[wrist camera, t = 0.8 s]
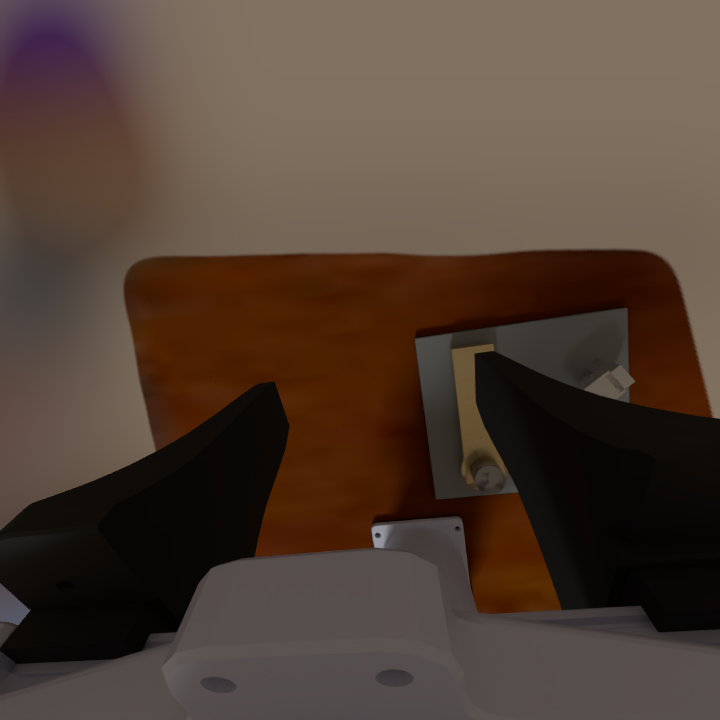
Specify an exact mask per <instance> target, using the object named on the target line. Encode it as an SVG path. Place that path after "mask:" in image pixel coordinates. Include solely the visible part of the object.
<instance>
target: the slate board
mask: <svg viewBox="0 0 720 720" xmlns="http://www.w3.org/2000/svg"><path fill="white" fill-rule="evenodd" d="M485 342H491V343H493V345H494V352H497V353H499V354H501V355H504V356H506V357H508V358H510V359H512V360H514V361H516V362H518V363H520V364H522V365H524V366H526V367H528V368H530V369H532V370H534V371H537V372H539V373H541V374H543V375H545V376H548V377H550V378H553V379H555V380H558V381H560V382H562V383H565V384H568V385H570V386H573V387H578V386H579V385H580V384H582V383H583V382H584V381H585V380H587V379H588V378H589V377H591V375H590V374H589V373H588V372H587V371H586V370H585V368H586V367H587V366H589V365H590V364H591V363H593V362H594V361H595V360H596V359H598V358H599V359H603V360H606V361H609V362H613V363H616V364H619V365H621V366H622V367H623V368H624V369H625V370H626V372H627V373H628V374H629V362H628V309H627V308H617V309H610V310H603V311H596V312H589V313H582V314H576V315H569V316H562V317H555V318H548V319H542V320H535V321H528V322H521V323H514V324H507V325H501V326H494V327H487V328H480V329H473V330H466V331H460V332H453V333H446V334H439V335H432V336H426V337H419V338H415V346H416V353H417V361H418V368H419V376H420V383H421V391H422V399H423V406H424V414H425V421H426V429H427V437H428V444H429V452H430V459H431V467H432V475H433V482H434V490H435V497H436V500H437V499H448V498H459V497H470V496H481V495H492V494H485V493H483V492H481V491H478V490H475V489H473V488H471V487H470V486H469V485H468V484H467V483H466V482H465V481H464V479H463V476H462V474H461V471H460V468H459V461H460V458H461V456H462V453H461V444H460V435H459V427H458V418H457V409H456V400H455V392H454V383H453V374H452V365H451V356H450V347H457V346H464V345H471V344H478V343H485ZM626 391H627V392H625V393H624V394H623V395H621V396H620V397H619V398H617V399H616V400H620V401H624V402H628V403H629V387H627V388H626ZM514 492H518V490H517V488H516V486H515V484H514V482H513V480H512V478H511V476H510V474H509V472H508V477H507V479H506V484H505V486H504V488H503V489H502V490H501V491H500V492H498V493H496V494H503V493H514Z"/></svg>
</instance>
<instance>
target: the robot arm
mask: <svg viewBox="0 0 720 720" xmlns="http://www.w3.org/2000/svg"><path fill="white" fill-rule="evenodd" d="M474 357H475V395H476V405H477V408H478V411H479V414H480V417H481V419H482V422H483V425H484V427H485V429H486V431H487V433H488V435H489V437H490V438H491V440H492V442H493V444H494V446H495V448H496V450H497V452H498V454H499V455H500V457H501V459H502V461H503V463H504V465H505V467H506V468H507V470H508V472H509V474H510V476H511V478H512V480H513V482H514V484H515V486H516V488H517V490H518V493H519V495H520V498H521V500H522V503H523V505H524V508H525V510H526V513H527V515H528V518H529V520H530V523H531V525H532V528H533V531H534V533H535V536H536V538H537V541H538V544H539V546H540V549H541V552H542V554H543V557H544V560H545V563H546V565H547V568H548V571H549V574H550V577H551V579H552V582H553V585H554V588H555V591H556V594H557V596H558V599H559V602H560V605H561V608H562V610H556V611H538V612H521V613H503V614H484V613H478V612H477V609H476V605H475V601H474V598H473V594H472V591H471V587H470V579H469V571H468V562H467V554H466V545H465V537H464V528H463V522H462V519H461V518H460V517H458V516H452V517H441V518H429V519H417V520H405V521H393V522H381V523H374V524H373V525H372V536H373V542H374V548H365V549H353V550H341V551H328V552H316V553H304V554H291V555H279V556H267V557H255V551H256V546H257V541H258V537H259V533H260V528H261V524H262V519H263V515H264V512H265V508H266V505H267V502H268V499H269V496H270V493H271V490H272V487H273V484H274V481H275V478H276V475H277V473H278V470H279V467H280V464H281V461H282V458H283V455H284V452H285V448H286V443H287V437H288V431H289V424H288V421H287V418H286V415H285V412H284V409H283V406H282V403H281V400H280V397H279V394H278V391H277V388H276V385H275V382H267V383H260V384H257V385H255V386H254V387H252V388H251V389H249V390H248V391H246V392H245V393H244V394H242V395H241V396H239V397H238V398H237V399H235V400H234V401H233V402H231V403H230V404H229V405H227V406H226V407H225V408H223V409H222V410H221V411H219V412H218V413H217V414H215V415H214V416H212V417H211V418H210V419H208V420H207V421H205V422H204V423H202V424H201V425H199V426H198V427H197V428H195V429H194V430H192V431H191V432H189V433H187V434H186V435H184V436H183V437H181V438H179V439H178V440H176V441H174V442H173V443H171V444H169V445H167V446H166V447H164V448H162V449H160V450H158V451H156V452H154V453H152V454H150V455H148V456H146V457H145V458H143V459H141V460H139V461H137V462H135V463H133V464H131V465H129V466H126V467H124V468H122V469H120V470H118V471H115V472H113V473H111V474H108V475H106V476H104V477H102V478H99V479H97V480H94V481H92V482H89V483H87V484H84V485H82V486H79V487H76V488H73V489H71V490H68V491H65V492H63V493H60V494H57V495H54V496H51V497H49V498H46V499H43V500H40V501H37V502H34V503H32V504H30V505H29V506H28V507H26V508H25V509H24V510H23V511H22V512H21V513H19V514H18V515H17V516H16V517H15V518H14V519H13V520H12V521H11V522H9V523H8V524H7V525H6V526H5V527H4V528H3V529H2V530H1V531H0V583H1V584H2V585H3V586H4V587H5V588H6V589H8V590H9V591H10V592H11V593H12V594H13V595H14V596H15V597H16V598H17V599H18V600H20V601H21V602H22V603H23V604H24V605H25V606H26V607H27V608H28V609H30V610H31V611H30V612H29V613H28V614H27V615H26V617H25V618H24V619H23V620H22V622H21V623H20V624H19V625H16V624H13V623H10V622H2V621H0V720H720V419H717V418H709V417H701V416H694V415H688V414H682V413H677V412H671V411H665V410H660V409H655V408H650V407H645V406H640V405H636V404H632V403H628V402H624V401H620V400H615V399H612V398H608V397H604V396H601V395H598V394H594V393H591V392H588V391H585V390H582V389H579V388H576V387H573V386H570V385H568V384H565V383H562V382H560V381H558V380H555V379H553V378H550V377H548V376H545V375H543V374H541V373H539V372H537V371H534V370H532V369H530V368H528V367H526V366H524V365H522V364H520V363H518V362H516V361H514V360H512V359H510V358H508V357H506V356H504V355H501V354H499V353H497V352H494V351H488V352H481V353H474ZM457 526H458V527H459V528H458V529H456V528H455V527H457ZM376 533H380V535H377V534H376ZM254 557H255V558H254Z"/></svg>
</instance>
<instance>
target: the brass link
mask: <svg viewBox="0 0 720 720" xmlns="http://www.w3.org/2000/svg"><path fill="white" fill-rule="evenodd" d="M488 351H494V345H493V343H491V342H485V343H478V344H471V345H464V346H457V347H450V356H451V365H452V374H453V383H454V392H455V400H456V409H457V418H458V427H459V435H460V444H461V453H462V456H461V458H460V461H459V468H460V471H461V474H462V476H463V479H464V481H465V482H466V483H467V484H468V485H469V486H470V487H471V488H473V489H475V490H478V491H480V490H479V489H478V488H477V486H476V484H475V481H474V479H473V477H472V469H473V467H474V465H475V464H476V463H477V462H479V461H481V460H492V461H494V462H496V463H497V464H498V465H499V467H500V468H501V470H502V472H503V473H504V475H505V477H506V479H507V477H508V470H507V468H506V467H505V465H504V463H503V461H502V459H501V457H500V455H499V454H498V452H497V450H496V448H495V446H494V444H493V442H492V440H491V438H490V437H489V435H488V433H487V431H486V429H485V427H484V425H483V422H482V419H481V417H480V414H479V411H478V408H477V405H476V395H475V357H474V353H481V352H488Z"/></svg>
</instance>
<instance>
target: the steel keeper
mask: <svg viewBox="0 0 720 720" xmlns="http://www.w3.org/2000/svg"><path fill="white" fill-rule="evenodd" d="M585 370H586V371H587V372H588V373H589V374H590V375H591V377H589V378H588V379H587V380H585V381H584V382H583V383H582V384H580V385H579V386H578V387H576V388H579V389H582V390H585V391H588V392H591V393H594V394H598V395H601V396H604V397H608V398H612V399H615V400H616V399H617V398H619V397H620V396H621V395H623V394H624V393H625V392H627V391H626V388H627V387H629V386H630V385H631V384H633V383H634V382H635V381H634V379H633V378H632V377H631V376H630V375H629V374H628V373H627V372H626V370H625V369H624V368H623V367H622V366H621V365H619V364H616V363H613V362H609V361H606V360H603V359H599V358H598V359H596V360H595V361H594V362H593V363H591V364H590V365H589V366H587V367H586V368H585Z"/></svg>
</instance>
